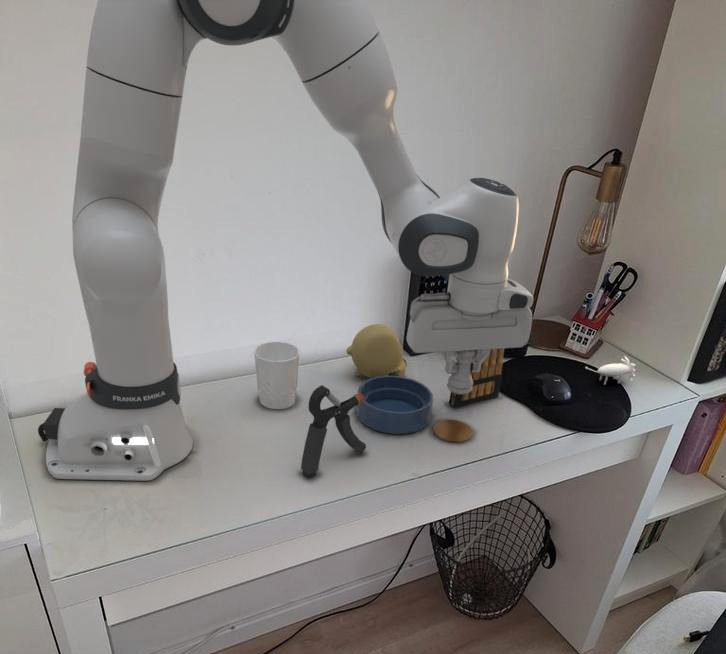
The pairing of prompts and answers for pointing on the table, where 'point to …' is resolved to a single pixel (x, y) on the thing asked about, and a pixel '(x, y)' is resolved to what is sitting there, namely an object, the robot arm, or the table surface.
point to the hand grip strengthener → (320, 423)
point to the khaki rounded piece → (377, 352)
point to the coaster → (452, 431)
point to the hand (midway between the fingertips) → (462, 371)
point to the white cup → (277, 374)
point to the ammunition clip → (482, 381)
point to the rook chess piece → (462, 373)
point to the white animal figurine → (616, 370)
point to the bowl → (394, 404)
